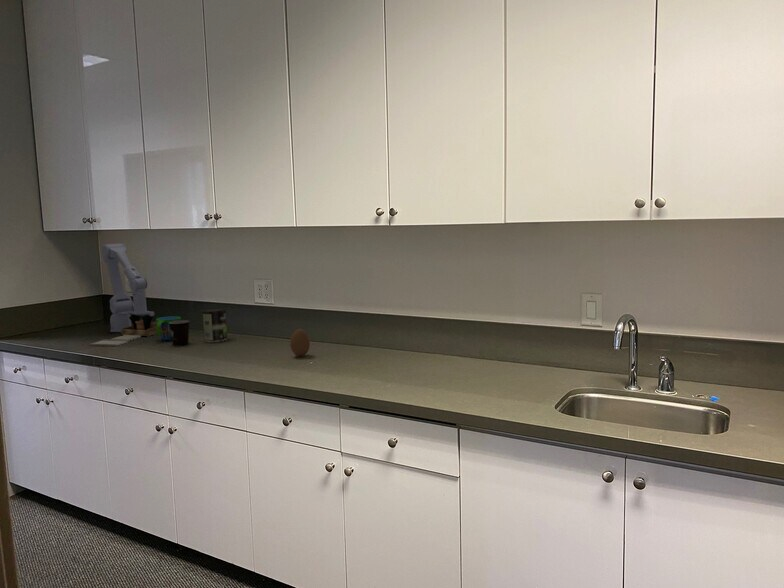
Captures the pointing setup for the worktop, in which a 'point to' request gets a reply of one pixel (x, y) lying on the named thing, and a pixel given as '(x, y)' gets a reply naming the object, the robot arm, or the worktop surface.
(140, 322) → the clay pot
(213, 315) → the coffee can
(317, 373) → the worktop surface
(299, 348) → the egg
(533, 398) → the worktop surface
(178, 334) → the coffee mug
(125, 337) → the stone tile
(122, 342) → the frame lid
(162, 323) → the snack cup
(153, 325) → the cold frame
